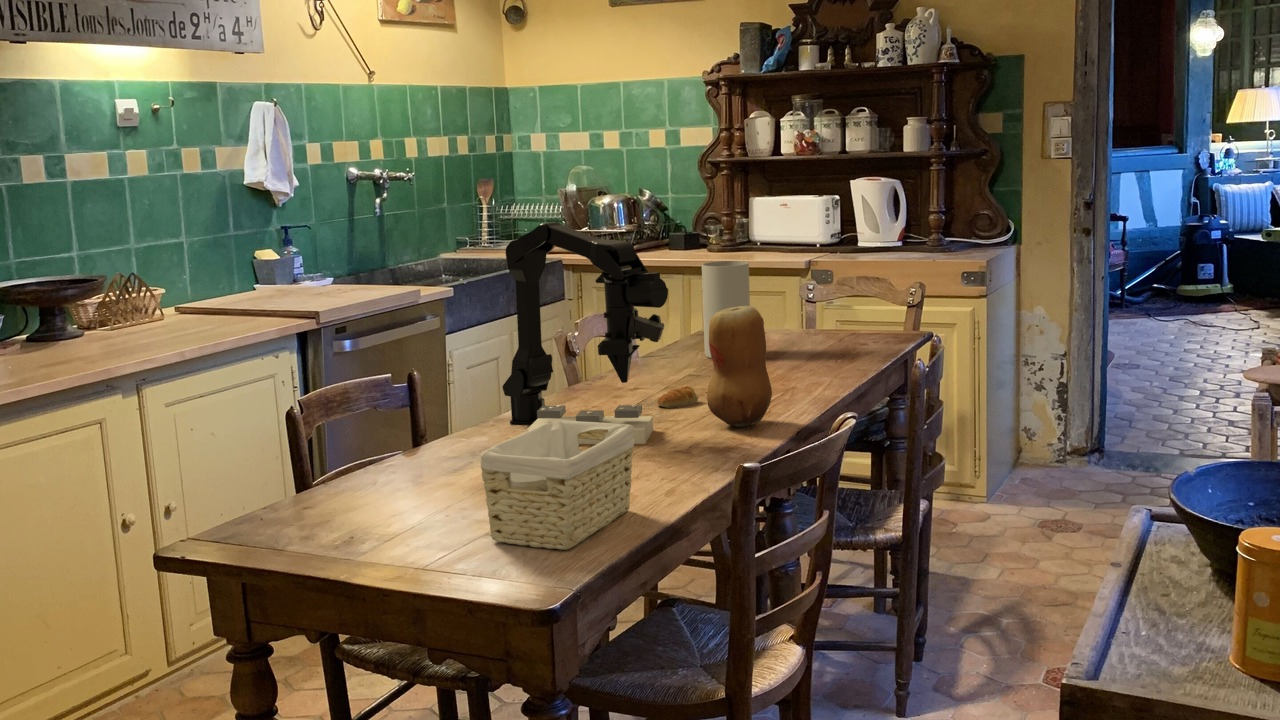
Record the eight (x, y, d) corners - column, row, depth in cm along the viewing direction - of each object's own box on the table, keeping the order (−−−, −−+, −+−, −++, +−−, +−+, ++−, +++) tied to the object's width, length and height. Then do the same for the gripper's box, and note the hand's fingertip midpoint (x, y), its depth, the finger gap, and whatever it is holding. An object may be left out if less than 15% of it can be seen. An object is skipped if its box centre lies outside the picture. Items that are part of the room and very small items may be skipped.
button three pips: (537, 418, 248) (536, 410, 247) (543, 412, 252) (542, 404, 252) (560, 418, 247) (560, 410, 246) (565, 412, 251) (565, 404, 251)
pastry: (670, 411, 269) (670, 394, 269) (650, 407, 274) (649, 390, 274) (700, 403, 276) (700, 387, 275) (679, 399, 280) (679, 383, 280)
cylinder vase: (753, 359, 323) (750, 265, 318) (705, 361, 323) (702, 267, 318) (749, 350, 335) (746, 259, 330) (703, 352, 335) (700, 261, 330)
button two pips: (614, 418, 245) (614, 409, 245) (619, 412, 249) (618, 404, 249) (638, 417, 244) (637, 409, 244) (642, 412, 249) (641, 404, 248)
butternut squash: (697, 423, 256) (693, 306, 252) (753, 415, 261) (750, 299, 257) (728, 437, 244) (724, 314, 239) (786, 428, 249) (783, 307, 244)
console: (527, 444, 246) (526, 429, 245) (540, 430, 256) (539, 416, 256) (644, 444, 242) (644, 429, 241) (653, 430, 252) (652, 416, 252)
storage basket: (556, 500, 208) (551, 416, 205) (642, 509, 201) (638, 422, 198) (480, 545, 187) (474, 453, 184) (573, 557, 180) (568, 461, 177)
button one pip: (576, 423, 246) (575, 415, 246) (581, 417, 251) (580, 409, 251) (599, 423, 246) (599, 415, 245) (604, 417, 250) (603, 409, 250)
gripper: (652, 311, 232) (656, 391, 235) (667, 297, 250) (671, 372, 253) (594, 313, 234) (600, 392, 237) (613, 299, 252) (618, 373, 255)
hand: (624, 382), depth 245 cm, fingers closed
